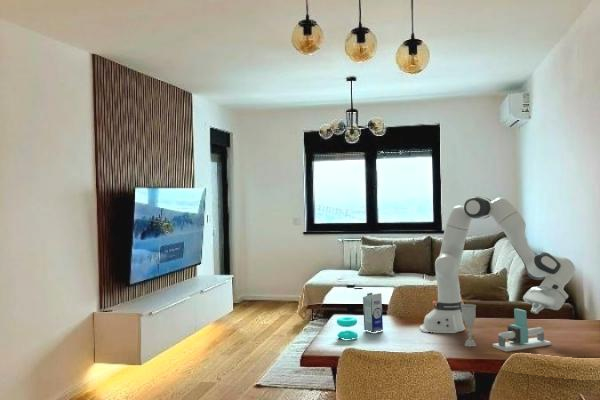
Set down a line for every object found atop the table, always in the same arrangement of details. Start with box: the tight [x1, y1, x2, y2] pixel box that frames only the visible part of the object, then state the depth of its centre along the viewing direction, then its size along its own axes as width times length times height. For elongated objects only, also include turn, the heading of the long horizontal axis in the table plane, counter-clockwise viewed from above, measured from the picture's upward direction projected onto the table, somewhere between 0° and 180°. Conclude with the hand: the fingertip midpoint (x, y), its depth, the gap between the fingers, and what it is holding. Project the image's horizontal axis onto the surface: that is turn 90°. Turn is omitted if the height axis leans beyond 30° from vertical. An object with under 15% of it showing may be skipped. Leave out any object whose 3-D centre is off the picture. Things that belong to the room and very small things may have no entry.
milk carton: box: [362, 292, 384, 332], centre depth 284 cm, size 7×7×20 cm
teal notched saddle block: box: [509, 308, 529, 344], centre depth 246 cm, size 4×7×14 cm, turn 18°
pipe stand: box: [492, 326, 552, 352], centre depth 246 cm, size 24×9×7 cm, turn 108°
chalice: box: [461, 303, 477, 348], centre depth 251 cm, size 7×7×18 cm
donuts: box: [336, 316, 359, 339], centre depth 272 cm, size 10×10×10 cm
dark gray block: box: [507, 325, 520, 343], centre depth 245 cm, size 2×6×6 cm, turn 18°
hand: (533, 312), depth 249 cm, fingers closed
